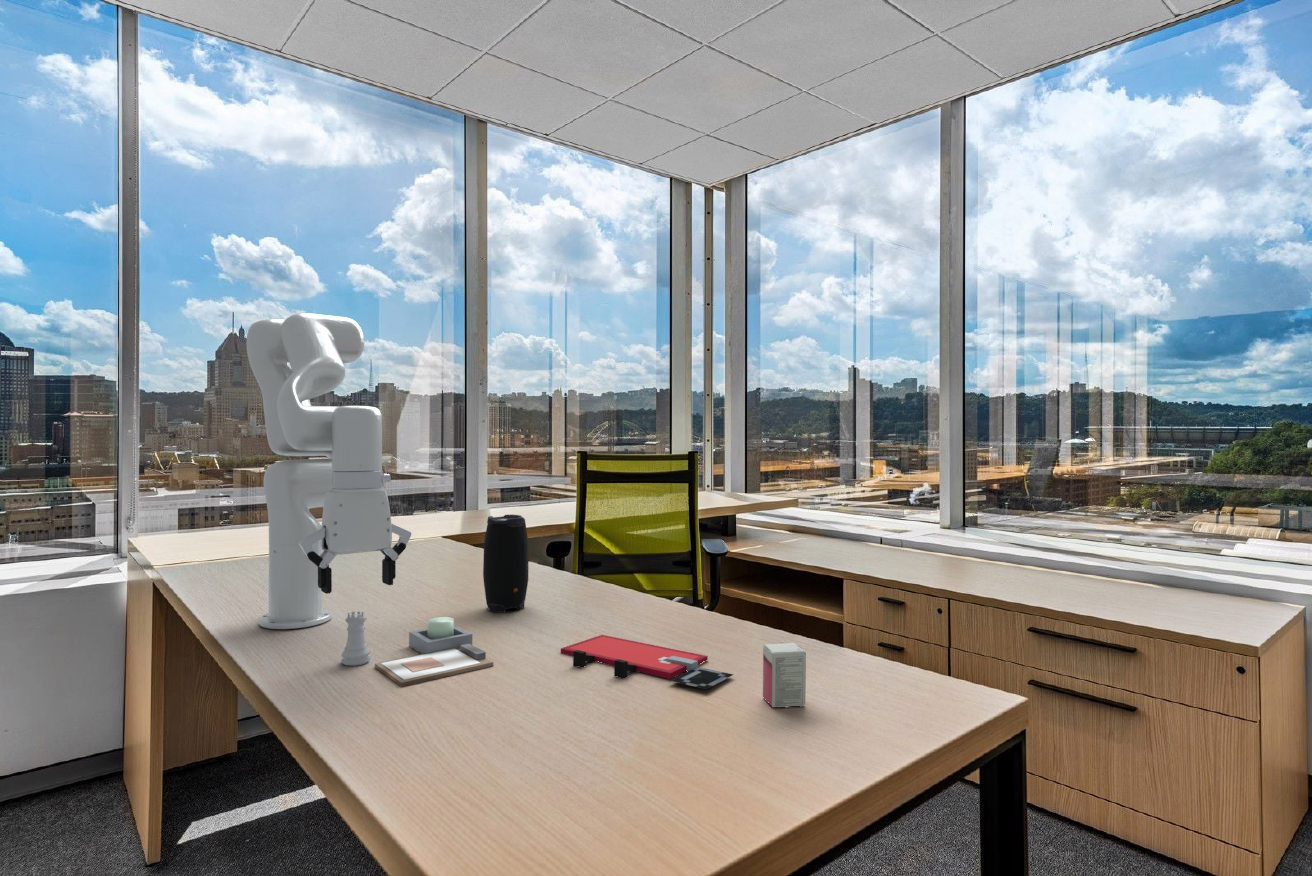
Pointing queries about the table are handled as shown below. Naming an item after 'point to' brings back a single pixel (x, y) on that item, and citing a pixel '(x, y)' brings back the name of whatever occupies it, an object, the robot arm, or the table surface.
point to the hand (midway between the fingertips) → (357, 588)
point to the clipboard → (434, 665)
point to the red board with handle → (645, 660)
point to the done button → (440, 628)
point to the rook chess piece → (355, 641)
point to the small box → (784, 674)
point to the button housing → (438, 641)
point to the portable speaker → (505, 562)
